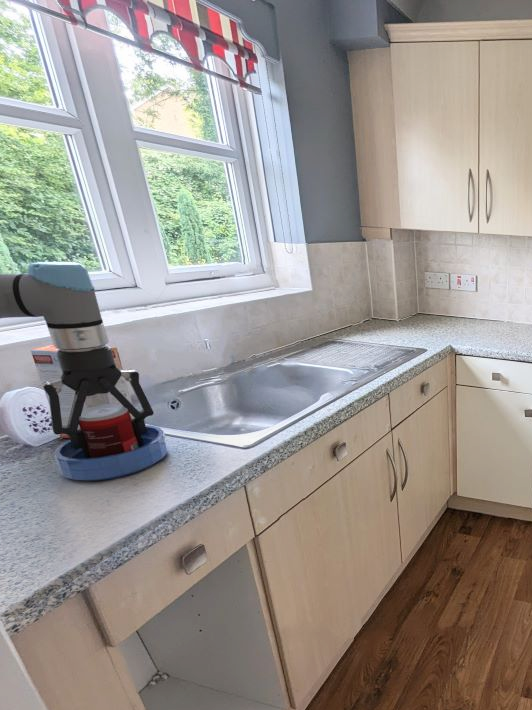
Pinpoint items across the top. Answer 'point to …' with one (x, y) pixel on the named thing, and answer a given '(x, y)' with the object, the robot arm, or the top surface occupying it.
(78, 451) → the bowl
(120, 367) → the cracker box
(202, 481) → the top surface
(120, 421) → the canned food
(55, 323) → the robot arm
